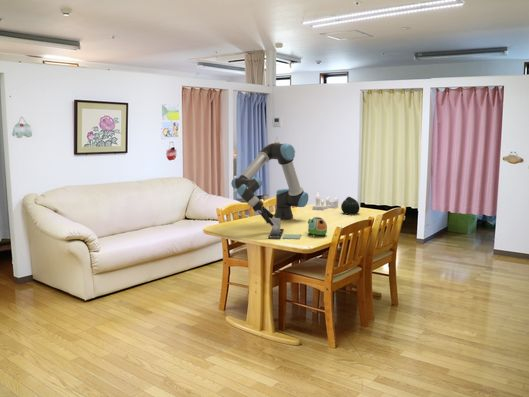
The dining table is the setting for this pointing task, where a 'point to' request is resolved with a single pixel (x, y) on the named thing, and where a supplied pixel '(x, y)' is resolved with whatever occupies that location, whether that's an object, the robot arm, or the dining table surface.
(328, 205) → the toy castle
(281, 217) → the robot arm
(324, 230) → the turtle holder
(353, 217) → the dining table surface
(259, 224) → the dining table surface
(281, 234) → the dark brown flat frame
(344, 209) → the squash
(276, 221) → the gray rectangular brick
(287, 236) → the mat
